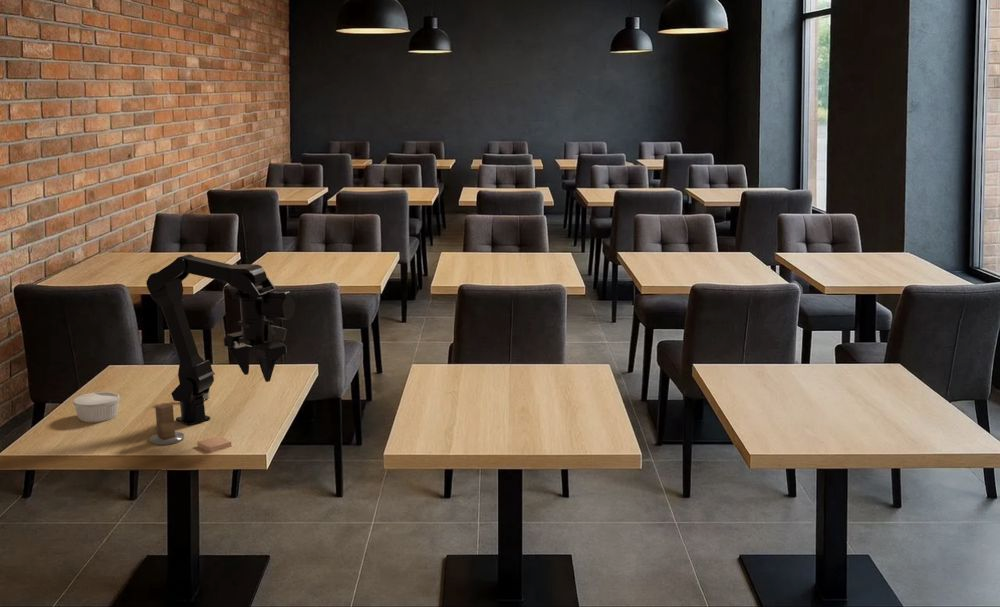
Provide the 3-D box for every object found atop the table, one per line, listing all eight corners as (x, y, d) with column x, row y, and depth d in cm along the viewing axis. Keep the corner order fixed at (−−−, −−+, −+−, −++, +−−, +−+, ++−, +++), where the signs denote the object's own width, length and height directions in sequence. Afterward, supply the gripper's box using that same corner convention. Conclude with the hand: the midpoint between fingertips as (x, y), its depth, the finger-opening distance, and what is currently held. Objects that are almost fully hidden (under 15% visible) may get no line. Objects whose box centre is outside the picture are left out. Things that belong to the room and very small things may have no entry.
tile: (197, 441, 248) (210, 447, 244) (218, 435, 252) (231, 441, 248) (197, 448, 248) (210, 454, 244) (218, 442, 252) (231, 448, 248)
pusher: (157, 437, 253) (155, 406, 251) (169, 434, 255) (166, 403, 253) (164, 440, 251) (161, 408, 249) (175, 436, 253) (172, 405, 251)
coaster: (143, 439, 253) (143, 437, 253) (173, 431, 258) (173, 429, 258) (160, 447, 247) (160, 445, 247) (190, 438, 253) (190, 436, 253)
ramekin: (128, 410, 275) (127, 391, 274) (109, 425, 264) (107, 405, 263) (88, 409, 276) (86, 390, 275) (67, 423, 265) (65, 404, 264)
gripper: (303, 316, 254) (306, 378, 257) (258, 305, 266) (262, 364, 270) (264, 325, 246) (268, 388, 249) (220, 313, 258) (225, 373, 262)
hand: (257, 378), depth 258 cm, fingers open, 9 cm apart
